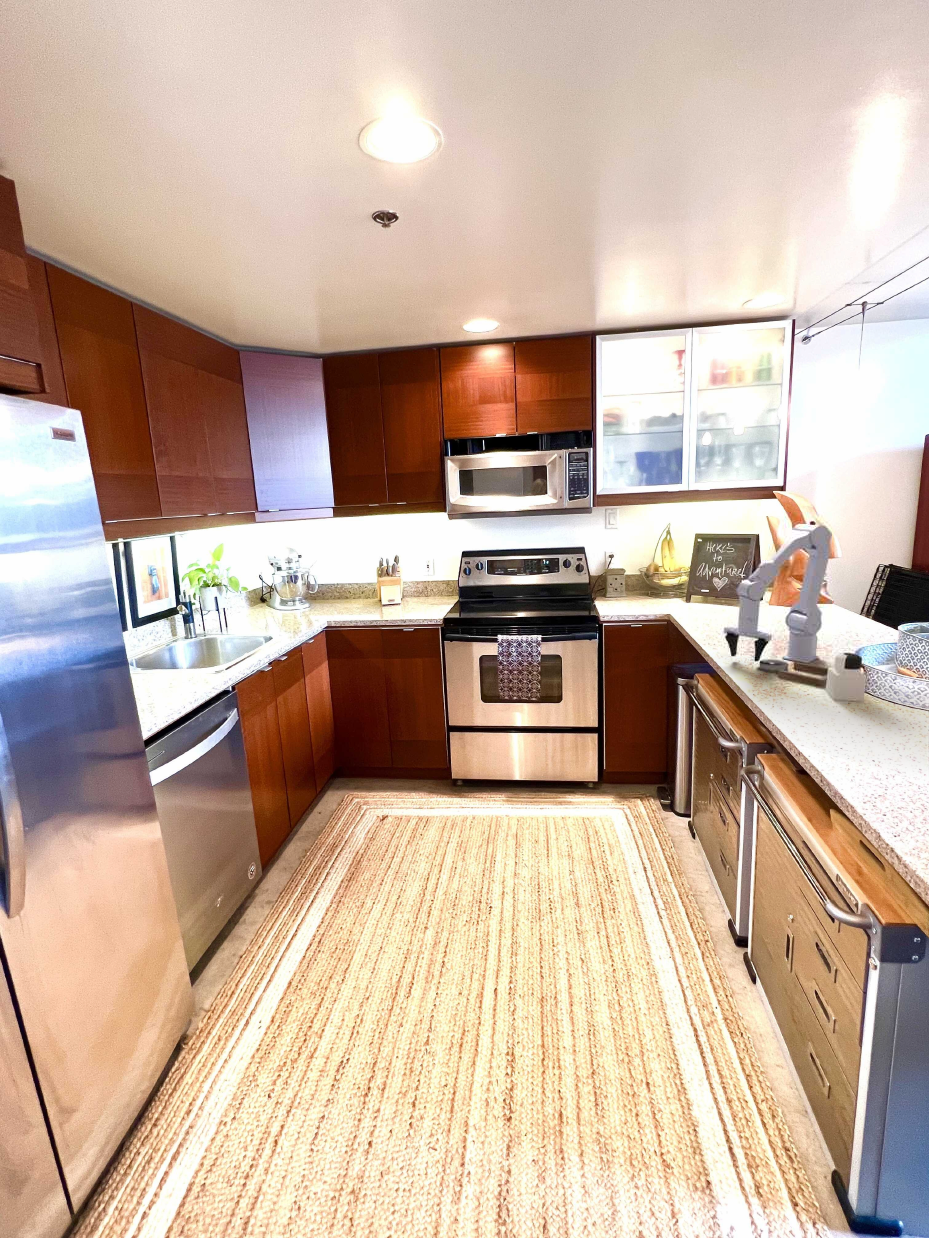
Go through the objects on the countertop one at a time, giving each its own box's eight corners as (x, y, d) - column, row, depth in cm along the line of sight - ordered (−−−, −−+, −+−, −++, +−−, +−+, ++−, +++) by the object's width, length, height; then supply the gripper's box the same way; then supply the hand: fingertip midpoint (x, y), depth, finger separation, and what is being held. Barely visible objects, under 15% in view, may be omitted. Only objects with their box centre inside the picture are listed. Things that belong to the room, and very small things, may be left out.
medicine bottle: (853, 692, 161) (859, 651, 158) (863, 702, 154) (869, 659, 152) (825, 691, 163) (829, 650, 160) (833, 700, 156) (838, 657, 154)
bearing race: (765, 664, 188) (766, 657, 187) (792, 670, 182) (792, 662, 181) (754, 670, 183) (755, 662, 182) (780, 676, 177) (781, 668, 176)
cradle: (795, 667, 183) (795, 661, 183) (838, 676, 174) (839, 670, 173) (777, 676, 175) (778, 670, 175) (822, 686, 166) (822, 680, 166)
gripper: (720, 616, 189) (717, 656, 192) (766, 623, 178) (762, 665, 181) (731, 612, 193) (728, 651, 196) (776, 619, 182) (772, 660, 185)
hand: (745, 658), depth 189 cm, fingers open, 7 cm apart
